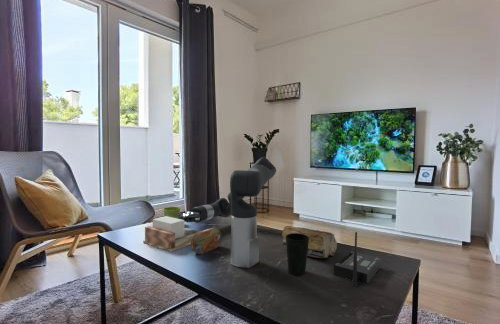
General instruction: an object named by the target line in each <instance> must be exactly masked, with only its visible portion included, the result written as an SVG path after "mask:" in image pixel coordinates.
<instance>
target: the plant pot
mask: <svg viewBox="0 0 500 324" xmlns="http://www.w3.org/2000/svg"><path fill="white" fill-rule="evenodd" d="M162 211H163V214H164V216H168V217H172V218H176V217H178V215H179V213H180V212H181V207H180V206H167V207H163V208H162Z"/></svg>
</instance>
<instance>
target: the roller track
mask: <svg viewBox="0 0 500 324" xmlns="http://www.w3.org/2000/svg"><path fill="white" fill-rule="evenodd" d="M203 230H204V229H203ZM203 230H200V231H203ZM200 231H199V230H195V229H191V228H186V227H184V237H181V238H178V239H175V233H173V232H169V231H165V230H162V229H158V228H154V227H153V226H151V225H148V226H145V227H144V240H143V241H142V242H143V244H146V245H149V246H151V247H155V248H157V249H161V250H164V251H167V252H170V253H172V252H174V251H177V250H180V249H182V248H185V247H188V246H191V239H192V237H193V236H194V234H196V233H197V232H200Z"/></svg>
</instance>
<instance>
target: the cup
mask: <svg viewBox="0 0 500 324" xmlns="http://www.w3.org/2000/svg"><path fill="white" fill-rule="evenodd" d="M308 243H309V237H308V236H307V235H304V234H298V233H292V234H288V235H286V247H285V248H286V258H287V260H286V261H287V271H288V274H290V275H292V276H295V277H301V276H304V275H305V273H306V268H307V266H306V265H307V258H308V256H307V252H308Z"/></svg>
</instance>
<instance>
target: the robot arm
mask: <svg viewBox="0 0 500 324" xmlns="http://www.w3.org/2000/svg"><path fill="white" fill-rule="evenodd" d="M276 173H277V168H276V167H275V166H274V164H273V163H272V162H271V161H270V160H269V159H268V158H267V157H266V156H262V157H260V158H259V159H258V160H256V162H255V163H254V164H253V165H252V166H251V167H250V168H249V169H248V170H242V169H240V170H238V169H237V170H233V171H232V172H231V174H230V178H229V179H230V180H229V188H230V192H229V193H227V194H228V195H227V199H226V197H221V198H219V199H217V200H216V201H215V202H213V203H209V204H204V205H198V206H194V207H192V209H191V210H190V211H187V212H183V211H180V212H179V215H178V217H176V218H177V219H181V220H184V223H185V222H186V223H196V224H198V223H202V222H206V221H208V220H211V219H213V218H216V217H219V216H220V215H221V217H222V218H228V217H230V264H231V265H232V266H234V267H238V268H247V269H249V268H252V267H253V266H255V265H257V264H258V263H259V258H260V257H259V255H260V253H259V252H260V251H259V250H260V247H259V246H260V244H259V243H260V240H259V239H260V237H259V236H258V235H257V231H258V230H257V224H258V222H257V221H258V219H257V218H258V210H257V207H256V206H254V205H252V204H251V203H248V202H246V201H245V200H244V198H245V197H251V198H253V197H257V196H258V195H259V194H260V193H261V191H262V188H263V186H264V185H266V184H267V183H268V182H269V180H271V179H273V178H274V176H275V175H276Z"/></svg>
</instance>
